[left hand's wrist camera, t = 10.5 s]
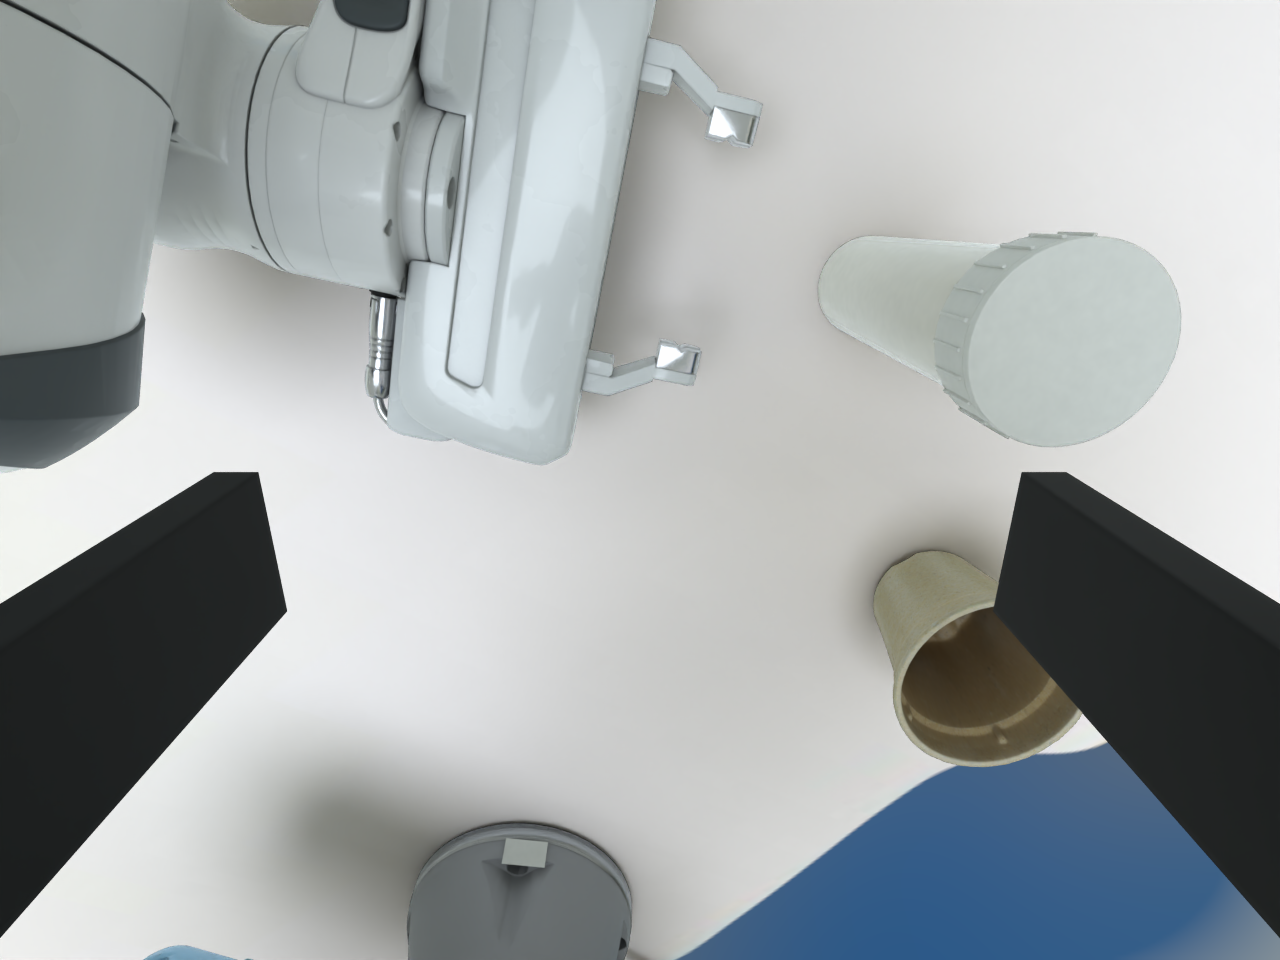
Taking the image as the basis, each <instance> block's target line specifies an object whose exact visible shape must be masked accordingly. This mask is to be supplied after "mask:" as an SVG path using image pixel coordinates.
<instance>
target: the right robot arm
mask: <svg viewBox="0 0 1280 960" xmlns="http://www.w3.org/2000/svg"><path fill="white" fill-rule="evenodd" d="M655 5H656V0H320V3H319V5H318V8H317V10H316V12H315V15H314V17H313V20H312V22H311V24H310V26H309V27H305V26H301V25H267V24H262V23H258V22H255V21H252V20H250V19H248V18H246V17H244V16H243V15H241V14H240V13H239V12H237V11H236V10H235V9H234V8H232V6H231V5H230V4H229V3H228V1H227V0H0V474H1V473H8V472H13V471H18V470H22V469H26V468H33V469H42V468H46V467H48V466H50V465H52V464H54V463H56V462H58V461H60V460H62V459H64V458H66V457H68V456H69V455H71V454H73V453H75V452H76V451H78V450H80V449H81V448H83V447H85V446H86V445H88V444H89V443H91V442H92V441H94V440H95V439H97V438H98V437H99V436H101V435H102V434H104V433H105V432H106V431H108V430H109V429H111V428H112V427H113V426H115V425H116V424H118V423H119V422H120V421H121V420H122V419H124V418H125V417H126V416H127V415H129V414H130V413H131V412H132V411H134V410H135V409H136V408H137V407H138V406H139V397H140V383H141V370H142V356H143V343H144V329H145V317H144V315H143V313H142V308H143V302H144V296H145V290H146V284H147V278H148V272H149V266H150V260H151V254H152V248H153V243H154V244H158V245H163V246H167V247H172V248H177V249H183V250H203V249H216V248H219V249H230V250H234V251H238V252H241V253H244V254H247V255H249V256H252V257H253V258H255V259H257V260H259V261H261V262H262V263H265V264H267V265H269V266H271V267H273V268H275V269H278V270H281V271H284V272H288V273H293V274H297V275H302V276H307V277H311V278H316V279H321V280H325V281H330V282H335V283H339V284H344V285H349V286H353V287H358V288H365V289H369V291H370V292H371V303H370V320H369V342H370V343H369V345H370V350H369V354H370V355H369V364H368V365H367V366H366V372H365V389H366V394H367V395H368V396H369V397H371V398H373V401H374V405H375V408H376V411H377V413H378V415H379V416H380V418H381V419H382V420H383V421H384V423H385V424H386V425H388V427H389V428H390V429H391V430H393V431H395V432H397V433H399V434H402V435H406V436H411V437H416V438H421V439H425V440H430V441H447V440H451V439H453V440H455V441H458V442H461V443H464V444H466V445H469V446H472V447H475V448H478V449H481V450H484V451H487V452H490V453H493V454H496V455H500V456H503V457H507V458H510V459H514V460H518V461H522V462H526V463H530V464H535V465H546V464H549V463H551V462H553V461H555V460H557V459H559V458H561V457H563V456H565V455H566V454H567V453H568V452H569V450H570V447H571V444H572V440H573V436H574V431H575V426H576V421H577V416H578V410H579V405H580V400H581V394H582V391H586V392H591V393H596V394H601V395H605V396H610V395H613V394H616V393H619V392H622V391H625V390H628V389H631V388H634V387H637V386H640V385H643V384H646V383H649V382H652V380H653V379H657V380H662V381H667V382H672V383H676V384H681V385H686V386H693V385H694V383H695V379H696V374H697V370H698V366H699V362H700V357H701V353H702V352H701V351H700V348H699V347H697V346H694V345H690V344H686V343H684V344H682V345H679V346H678V344H677V343H676V342H675V341H672V340H667V339H662V338H660V340H659V344H658V348H657V352H656V356H652V357H649V358H646V359H642V360H639V361H636V362H632V363H629V364H626V365H622V366H619V367H616V368H613V366H614V360H615V357H614V355H613V354H609V353H604V352H600V351H596V350H591V349H590V347H591V342H592V337H593V331H594V326H595V321H596V315H597V310H598V305H599V300H600V294H601V289H602V284H603V279H604V273H605V268H606V263H607V258H608V252H609V247H610V242H611V237H612V231H613V226H614V221H615V215H616V210H617V205H618V200H619V194H620V189H621V184H622V179H623V173H624V168H625V163H626V158H627V152H628V147H629V142H630V137H631V131H632V126H633V121H634V115H635V110H636V105H637V100H638V94H639V90H641V91H645V92H650V93H654V94H659V95H663V96H666V95H667V94H669V90H670V86H671V82H672V80H673V82H674V83H675V84H676V85H677V86H678V87H679V88H680V89H681V90H682V91H683V92H684V93H685V94H686V95H687V96H688V97H689V98H690V99H691V100H692V101H693V102H694V103H695V104H696V105H697V106H698V107H699V108H700V109H701V110H702V111H703V112H704V113H705V114H706V115H707V116H709V119H708V124H707V129H706V134H705V139H707V140H711V141H715V142H719V143H721V142H723V141H725V140H727V141H728V142H729V143H730V144H731V145H732V146H736V147H741V148H750V146H751V147H752V145H753V141H754V138H755V134H756V130H757V126H758V122H759V118H760V114H761V110H762V106H763V104H762V103H760V102H758V101H755V100H752V99H748V98H744V97H740V96H736V95H732V94H728V93H723V92H719V91H718V86H717V85H716V84H715V83H714V82H713V81H712V80H711V79H710V78H709V77H708V75H707V74H706V73H705V72H704V71H703V70H702V69H701V68H700V67H699V66H698V65H697V64H696V62H695V61H694V60H693V59H692V58H691V57H690V56H689V55H688V54H687V53H686V52H685V50H684V49H683V48H682V47H681V46H680V45H676V44H672V43H668V42H665V41H661V40H657V39H653V38H649V37H650V31H651V26H652V21H653V15H654V10H655ZM398 296H400V297H401V298H400V297H398ZM388 397H389V400H388V411H387V409H386V407H385V405H384V401H383V399H386V398H388Z"/></svg>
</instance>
